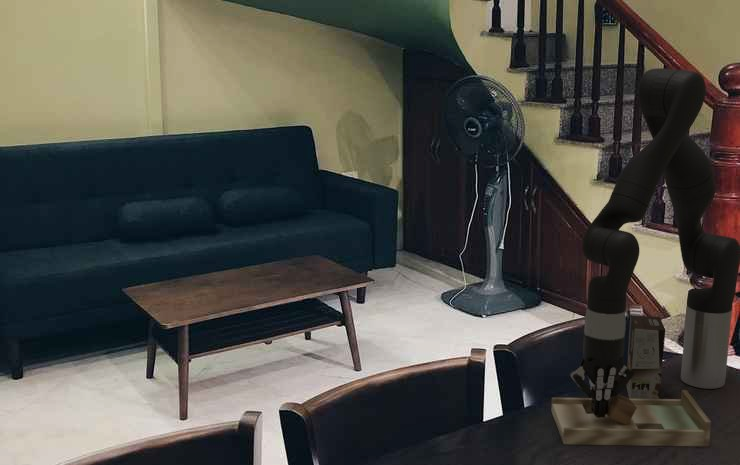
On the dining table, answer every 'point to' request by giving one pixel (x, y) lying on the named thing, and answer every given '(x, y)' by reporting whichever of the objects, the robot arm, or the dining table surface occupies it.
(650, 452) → the dining table surface
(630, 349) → the coffee box
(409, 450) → the dining table surface
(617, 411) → the walnut block
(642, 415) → the tray
